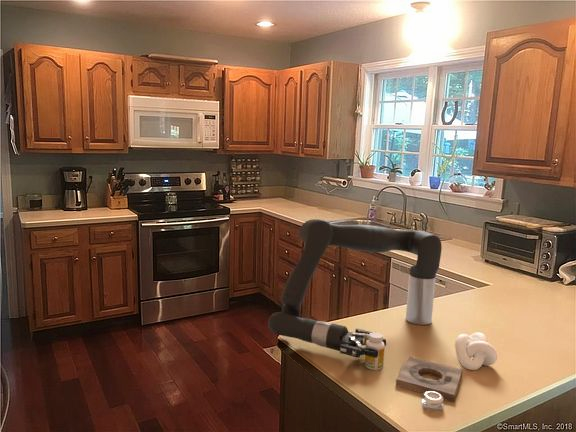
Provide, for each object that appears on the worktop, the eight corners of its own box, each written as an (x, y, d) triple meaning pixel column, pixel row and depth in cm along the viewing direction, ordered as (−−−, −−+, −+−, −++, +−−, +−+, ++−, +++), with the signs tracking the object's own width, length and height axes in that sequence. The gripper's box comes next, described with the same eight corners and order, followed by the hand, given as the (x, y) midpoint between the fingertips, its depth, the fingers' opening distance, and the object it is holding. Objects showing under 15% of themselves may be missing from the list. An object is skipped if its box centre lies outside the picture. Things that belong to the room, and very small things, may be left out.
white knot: (471, 378, 129) (474, 348, 128) (441, 358, 140) (444, 331, 139) (500, 371, 134) (504, 342, 132) (469, 353, 145) (472, 326, 143)
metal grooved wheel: (422, 398, 118) (421, 409, 114) (423, 388, 118) (422, 398, 113) (443, 403, 117) (442, 413, 112) (444, 392, 116) (443, 402, 112)
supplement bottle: (380, 361, 137) (382, 331, 135) (385, 370, 132) (387, 339, 130) (362, 361, 137) (364, 330, 135) (366, 370, 132) (368, 338, 130)
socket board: (408, 362, 137) (409, 356, 137) (461, 375, 130) (462, 369, 130) (395, 385, 124) (396, 378, 124) (453, 402, 117) (454, 394, 117)
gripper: (320, 332, 133) (375, 345, 125) (338, 316, 145) (389, 327, 138) (319, 356, 134) (373, 371, 127) (337, 338, 147) (388, 350, 139)
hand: (382, 348), depth 132 cm, fingers open, 7 cm apart
